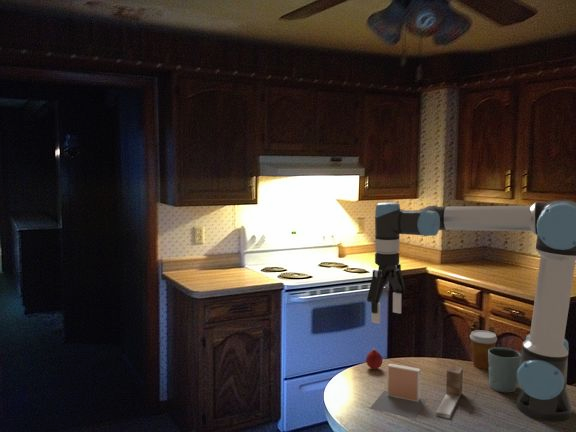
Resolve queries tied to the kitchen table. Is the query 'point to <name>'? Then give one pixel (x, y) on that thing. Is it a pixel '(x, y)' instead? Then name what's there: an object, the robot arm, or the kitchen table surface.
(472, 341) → the disposable coffee cup
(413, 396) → the tile
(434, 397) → the kitchen table surface
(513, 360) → the grey-green hollow open cylinder
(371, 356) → the onion
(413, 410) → the mat
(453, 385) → the tan l-shaped piece
